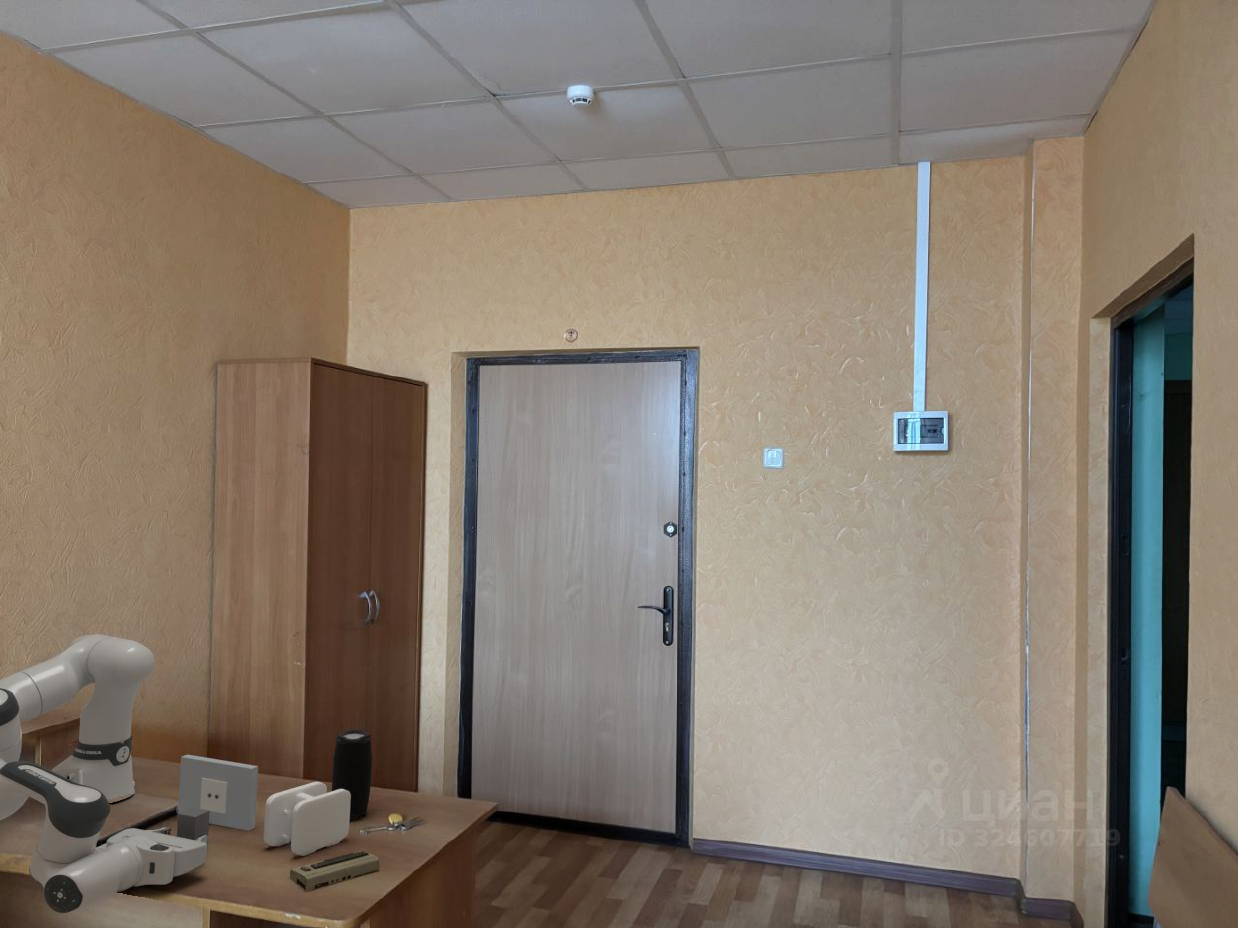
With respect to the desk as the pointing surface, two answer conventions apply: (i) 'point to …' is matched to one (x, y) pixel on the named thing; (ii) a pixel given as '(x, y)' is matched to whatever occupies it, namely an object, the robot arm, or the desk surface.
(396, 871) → the desk surface
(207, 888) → the desk surface
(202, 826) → the block
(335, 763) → the portable speaker
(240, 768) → the outlet plate
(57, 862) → the robot arm
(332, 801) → the organizer
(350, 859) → the computer
